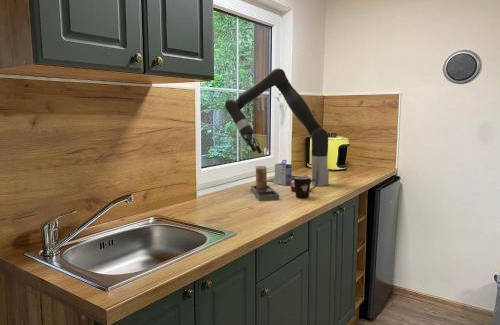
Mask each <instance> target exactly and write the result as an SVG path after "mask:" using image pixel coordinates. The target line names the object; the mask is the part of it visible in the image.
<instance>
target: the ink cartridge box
mask: <svg viewBox="0 0 500 325" xmlns="http://www.w3.org/2000/svg"><path fill="white" fill-rule="evenodd" d="M292 165H293V164H289V163H287V159H282V161H281V163H275V164H274V184H277V185H281V186H282V185H283V186H291V184H292V183H293V181H292V180H293V179H292V178H293V174H292V172H293V170H292V169H293V168H292Z"/></svg>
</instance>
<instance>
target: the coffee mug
mask: <svg viewBox="0 0 500 325" xmlns="http://www.w3.org/2000/svg"><path fill="white" fill-rule="evenodd" d="M307 176H308V175H306V176H305V175H301V176H294V177H293V182H294V184H295V192H294V193H295V198H296V199H302V200H303V199H308V198H310V192H311V191H312V190H314V189H315V188H316V187H318V186H317V180H315V179H313V180H314V181H316V185H313V187H312V188H311V184H312V181H313V180H312V176H308V177H307Z"/></svg>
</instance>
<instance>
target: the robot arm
mask: <svg viewBox="0 0 500 325" xmlns="http://www.w3.org/2000/svg"><path fill="white" fill-rule="evenodd" d="M272 87H276V89H277V90H278V91H279V92H280V94H281V95H282V96H283V98H284V101H285V102H286V104H287V106H288V107H289V108H290V110H291V112H292V113H293V114H294V116H295V117H296V118H297V120H298V121H299V122H300V123H301V124H302V125H303V127H305V129H306V131H307V132H308V134H309V136H310V138H311V180H313V179H315V180H317V186H316V187H318V186H319V187H325V186H328V185H329V182H330V180H329V179H330V177H329V174H330V173H329V172H330V170H329V168H328V165H329V164H328V158H329V157H328V154H329V153H328V152H329V133H328V132H327V130H326V129H324V128H323V127H322V125H320V124H319V122H317V120H316V118H315V117H314V115H313V112H312V110H311V109H310V107H309V105H308V104H307V102H306V101H305V100H304V98H303V97H302V96H301V94H300V93H299V92H298V91H297V90H296V89H295V88H294V87H293V85H292V84H291V82H290V80H289V79H288V77H287V75H286V72H285V71H284V69H283V68H279V67H278V68H274V69H272V70H271V71H270V72H269V73H268V74H267V75H266V76H265V77H264V78H263V79H260V81H258V82H256V84H253V85H252V86H250V87H249V88H246V89H245V90H244V91H242V92H241V93H240V94H238V98H237V99H236V100H235V98H228V99H226V100H225V102H224V107H225V109H226V111H227V113H228V114H229V115H230V118H232V120H233V122H234V124H235V126H236V128H237V131H238V132H239V134H240V136H241V138H242V139H244V141H245V143H246V144H247V145H248V147H250V149H251V150H252V152H253V153H255V152H256V151H257V154H259V155H261V154H262V152H263V150H262V149H261V145H260V142H259V141H258V138H256V137H254V133H255V131H254V129H253V128H252V125H251V124H250V122H249V120H248V119H247V117H246V116H245V114H244V112H242V111H241V110H242V109H243V108H244V107H245V106H246V105H248V104H249V103H250V102H252V101H254V100H256V98H258V97H259V96H260V95H262V94H263V93H264V92H266V91H267V90H269V89H271V88H272ZM311 185H312V186H315V185H316V181H314V180H313V181H312V182H311Z"/></svg>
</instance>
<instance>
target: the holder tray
mask: <svg viewBox="0 0 500 325" xmlns="http://www.w3.org/2000/svg"><path fill="white" fill-rule="evenodd" d="M250 191H251V192H252V193H253V195H254V196H255V198H257V200H258V201H260V202H262V201H265V202H266V201H278V200H280V194H279V193H278V192H277V191H276V190H275V189H274V188H273V187H271V186H270V184H267V188H265V189H256V185H251V186H250Z"/></svg>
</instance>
